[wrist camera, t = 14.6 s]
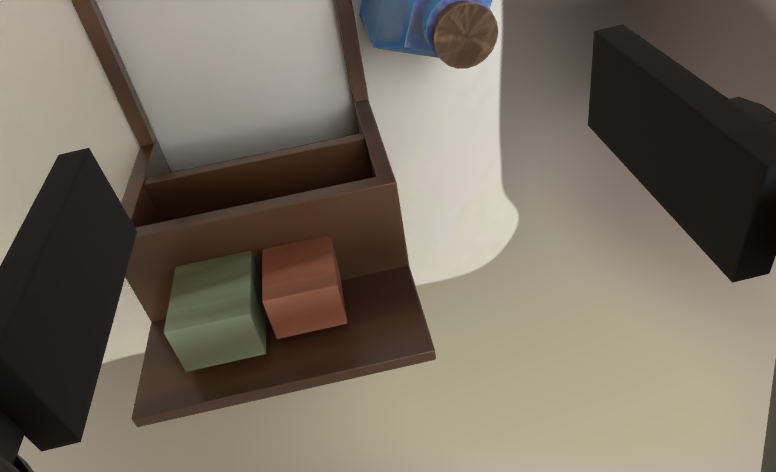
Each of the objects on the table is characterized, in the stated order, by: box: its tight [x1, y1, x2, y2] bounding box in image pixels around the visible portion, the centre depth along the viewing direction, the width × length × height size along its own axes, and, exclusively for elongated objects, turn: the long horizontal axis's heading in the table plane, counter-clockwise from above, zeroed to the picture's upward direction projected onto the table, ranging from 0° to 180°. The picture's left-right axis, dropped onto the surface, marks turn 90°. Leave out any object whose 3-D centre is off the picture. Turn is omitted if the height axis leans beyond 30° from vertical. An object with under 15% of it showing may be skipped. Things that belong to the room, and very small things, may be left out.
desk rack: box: [72, 0, 436, 427], centre depth 32 cm, size 19×16×19 cm
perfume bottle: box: [360, 0, 498, 69], centre depth 33 cm, size 6×6×12 cm
